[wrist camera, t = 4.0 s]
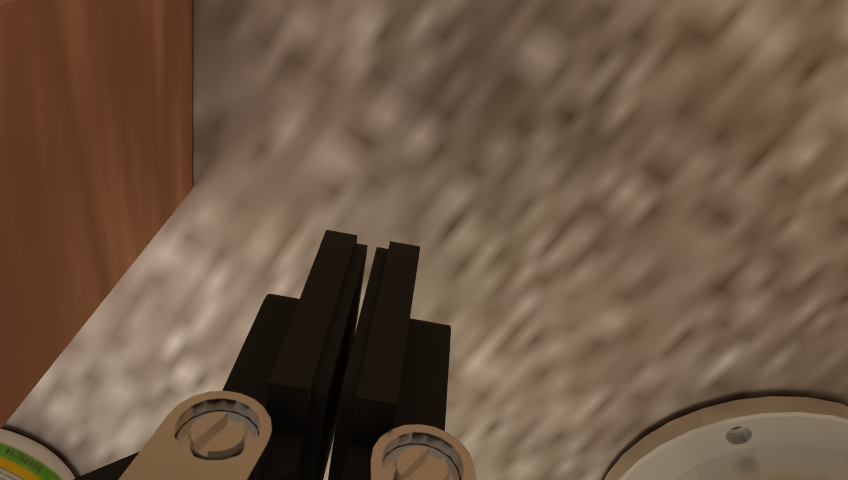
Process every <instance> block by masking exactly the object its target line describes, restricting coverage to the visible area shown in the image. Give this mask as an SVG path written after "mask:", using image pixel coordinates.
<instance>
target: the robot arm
mask: <svg viewBox="0 0 848 480" xmlns="http://www.w3.org/2000/svg"><path fill="white" fill-rule="evenodd" d="M419 251H420V247H419V246H414V245H408V244H403V243H397V242H391V241H390V245H389V249H385V248H379V247H377V249H376V252H375V257H374V261H373V265H372V269H371V273H370V277H369V281H368V285H367V289H366V293H365V297H364V301H363V305H362V309H361V313H360V317H359V321H358V325H357V329H356V323H357V316H358V309H359V302H360V295H361V289H362V282H363V275H364V268H365V261H366V255H367V245H362V244H357V235H352V234H347V233H341V232H336V231H330V230H326V232H325V234H324V237H323V240H322V242H321V245H320V247H319V250H318V253H317V255H316V258H315V260H314V263H313V266H312V268H311V271H310V273H309V276H308V279H307V281H306V284H305V286H304V289H303V292H302V294H301V297H300V299H297V298H291V297H285V296H280V295H274V294H268V295H267V296H266V297H265V299H264V301H263V303H262V305H261V308H260V310H259V312H258V314H257V316H256V319H255V321H254V323H253V325H252V327H251V329H250V332H249V334H248V336H247V338H246V340H245V343H244V345H243V347H242V349H241V351H240V353H239V356H238V358H237V360H236V362H235V364H234V367H233V369H232V371H231V373H230V375H229V377H228V380H227V382H226V384H225V386H224V388H223V391H213V392H206V393H203V394H199V395H195V396H193V397H191V398H189V399H187V400H185V401H183V402H181V403H180V404H179V405H178V406H177V407H176V408H174V409H173V410H172V411H171V412H170V413H169V414H168V416H167V417H166V418H165V420H164V421H163V422H162V424H161V425H160V426H159V427H158V429H157V430H156V431H155V433H154V434H153V435H152V437H151V438H150V439H149V440H148V442H147V443H146V444H145V446H144V447H143V448H142V450H141V451H140V452H137V453H135V454H133V455H130V456H128V457H125V458H123V459H121V460H118V461H116V462H114V463H111V464H109V465H106V466H104V467H102V468H99V469H97V470H94V471H92V472H90V473H87V474H85V475H82V476H80V477H78V478H75V479H73V480H323V478H324V474H325V470H326V466H327V462H328V458H329V454H330V450H331V445H332V441H333V437H334V442H333V449H332V456H331V463H330V470H329V477H328V480H476V474H475V468H474V464H473V461H472V459H471V456H470V453H469V452H468V451H467V449H466V448H465V447H464V446H463V444H462V443H461V442H460V441H459V440H457V439H456V438H455V437H453V436H452V435H451V434H449V433H447V432H445V417H446V401H447V385H448V369H449V352H450V336H451V327H450V325H444V324H438V323H433V322H427V321H421V320H416V319H410V313H411V306H412V299H413V292H414V286H415V279H416V272H417V265H418V258H419ZM355 330H356V333H355ZM354 336H355V337H354ZM334 433H335V434H334ZM604 480H848V406H846V405H843V404H841V403H837V402H831V401H825V400H820V399H814V398H808V397H782V396H769V397H760V398H750V399H741V400H734V401H730V402H726V403H722V404H718V405H714V406H710V407H706V408H702V409H700V410H697V411H695V412H692V413H690V414H687V415H685V416H682V417H680V418H677V419H675V420H672V421H670V422H669V423H667V424H665V425H663V426H662V427H660V428H658V429H657V430H655V431H653V432H651V433H650V434H648V435H646V436H645V437H643V438H642V439H641V440H640V441H639V442H637V443H636V444H635V445H634V446H633V447H631V448H630V449H629V450H628V451H627V452H625V453H624V454H623V455H622V456H621V458H620V459H619V460H618V461H617V462H616V464H615V465H614V466H613V467H612V469H611V470H610V471H609V472H608V473H607V475H606V477H605V479H604Z"/></svg>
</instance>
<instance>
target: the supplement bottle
mask: <svg viewBox="0 0 848 480" xmlns="http://www.w3.org/2000/svg"><path fill="white" fill-rule="evenodd" d="M73 479H75V477H74V475H73V474H72V472H71V471H70V469H69V468H68V467H67V466H66V465H65V464H64V462H63V461H62V460H61V459H60V458H59V457H57V456H56V455H55V454H54V453H53V452H51V451H50V450H49V449H47V448H46V447H44V446H43V445H41V444H39V443H37V442H35V441H33V440H31V439H29V438H27V437H25V436H22V435H20V434H17V433H14V432H11V431H8V430H4V429H0V480H73Z"/></svg>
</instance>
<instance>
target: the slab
mask: <svg viewBox="0 0 848 480" xmlns="http://www.w3.org/2000/svg"><path fill="white" fill-rule="evenodd" d="M191 190H192V0H0V429H1V428H2V427H3V425H4V424H5V423H6V422H7V420H8V419H9V418H10V417H11V415H12V414H13V413H14V412H15V410H16V409H17V408H18V407H19V405H20V404H21V403H22V402H23V400H24V399H25V398H26V397H27V395H28V394H29V393H30V392H31V390H32V389H33V388H34V387H35V385H36V384H37V383H38V382H39V380H40V379H41V378H42V377H43V375H44V374H45V373H46V372H47V370H48V369H49V368H50V367H51V365H52V364H53V363H54V362H55V360H56V359H57V358H58V357H59V355H60V354H61V353H62V352H63V350H64V349H65V348H66V347H67V345H68V344H69V343H70V342H71V340H72V339H73V338H74V336H75V335H76V334H77V333H78V331H79V330H80V329H81V328H82V326H83V325H84V324H85V323H86V321H87V320H88V319H89V318H90V316H91V315H92V314H93V313H94V311H95V310H96V309H97V308H98V306H99V305H100V304H101V303H102V301H103V300H104V299H105V298H106V296H107V295H108V294H109V293H110V291H111V290H112V289H113V288H114V286H115V285H116V284H117V283H118V281H119V280H120V279H121V278H122V276H123V275H124V274H125V273H126V271H127V270H128V269H129V268H130V266H131V265H132V264H133V263H134V261H135V260H136V259H137V258H138V256H139V255H140V254H141V252H142V251H143V250H144V249H145V247H146V246H147V245H148V244H149V242H150V241H151V240H152V239H153V237H154V236H155V235H156V234H157V232H158V231H159V230H160V229H161V227H162V226H163V225H164V224H165V222H166V221H167V220H168V219H169V217H170V216H171V215H172V214H173V212H174V211H175V210H176V209H177V207H178V206H179V205H180V204H181V202H182V201H183V200H184V199H185V197H186V196H187V195H188V194H189V192H190V191H191Z"/></svg>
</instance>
